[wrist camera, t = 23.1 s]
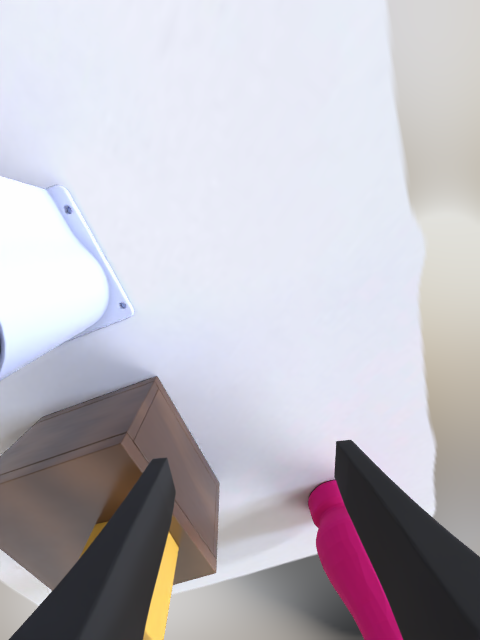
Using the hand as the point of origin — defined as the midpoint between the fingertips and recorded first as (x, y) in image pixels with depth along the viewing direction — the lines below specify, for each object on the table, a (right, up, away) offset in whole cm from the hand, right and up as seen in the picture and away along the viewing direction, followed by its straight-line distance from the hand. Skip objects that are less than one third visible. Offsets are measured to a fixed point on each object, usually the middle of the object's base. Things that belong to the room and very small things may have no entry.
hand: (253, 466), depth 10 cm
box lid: (-11, -9, +7) cm, 16 cm away
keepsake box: (-11, -7, +13) cm, 18 cm away
